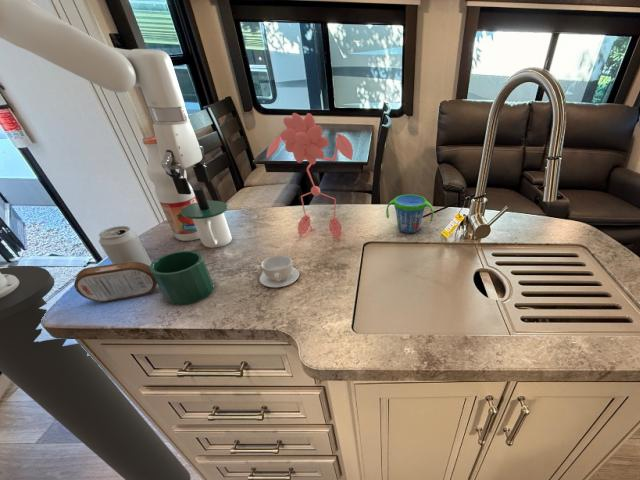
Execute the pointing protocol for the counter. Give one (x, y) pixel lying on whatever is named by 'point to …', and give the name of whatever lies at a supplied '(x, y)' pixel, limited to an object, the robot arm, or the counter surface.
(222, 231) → the cup
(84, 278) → the tin
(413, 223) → the snack cup
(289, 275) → the teacup
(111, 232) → the can
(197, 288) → the cup
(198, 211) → the tin lid
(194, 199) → the fruit juice
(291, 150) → the figurine
